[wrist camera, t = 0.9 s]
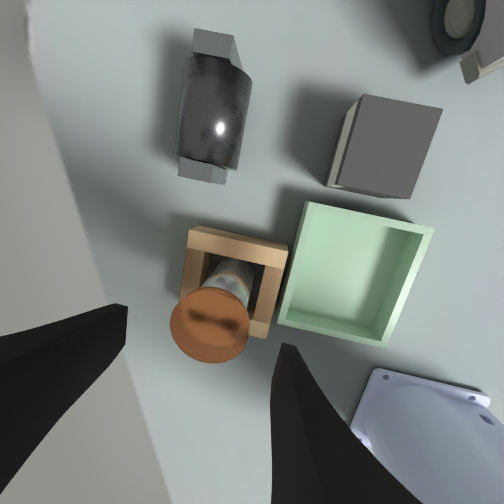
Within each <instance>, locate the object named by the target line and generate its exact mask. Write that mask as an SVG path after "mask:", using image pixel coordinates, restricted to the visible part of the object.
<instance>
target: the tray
mask: <svg viewBox="0 0 504 504" xmlns="http://www.w3.org/2000/svg"><path fill="white" fill-rule="evenodd" d="M434 230H435V228H431V227H427V226H422V225H418V224H414V223H409V222H404V221H399V220H395V219H390V218H385V217H381V216H376V215H371V214H367V213H362V212H357V211H352V210H348V209H343V208H338V207H334V206H329V205H324V204H319V203H315V202H310V201H305V203H304V207H303V211H302V214H301V218H300V222H299V226H298V230H297V234H296V238H295V241H294V245H293V249H292V253H291V257H290V261H289V265H288V269H287V272H286V276H285V280H284V284H283V288H282V292H281V296H280V300H279V303H278V307H277V324H281V325H286V326H290V327H294V328H298V329H303V330H307V331H311V332H315V333H320V334H324V335H328V336H332V337H337V338H341V339H345V340H349V341H354V342H358V343H362V344H366V345H371V346H375V347H379V348H383V349H385V348H386V346H387V344H388V341H389V339H390V336H391V334H392V332H393V329H394V327H395V324H396V322H397V319H398V317H399V315H400V312H401V310H402V307H403V305H404V303H405V300H406V298H407V295H408V293H409V290H410V288H411V286H412V283H413V281H414V278H415V276H416V274H417V271H418V269H419V266H420V264H421V261H422V259H423V257H424V254H425V252H426V249H427V247H428V245H429V242H430V240H431V237H432V235H433V232H434Z"/></svg>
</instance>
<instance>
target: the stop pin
mask: <svg viewBox="0 0 504 504" xmlns="http://www.w3.org/2000/svg"><path fill="white" fill-rule="evenodd" d="M253 281H254V273H253V270H252V268H251V266H250V265H249V264H248V263H247V262H246V261H245V260H240V259H236V258H227V259H225V260H223V261H222V262H220V263H219V265H218V266H217V267H216V269H215V270H214V271H213V272H212V274H211V275H210V276H209V278H208V279H207V280H206V281H205V283H204V284H203V285H202V287H200V288H197V289H194V290H192V291H190V292H189V293H188V294H186V295H185V296H184V297H183V298H182V299H181V301H180V302H179V303H178V304H177V305H176V307H175V308H174V310H173V312H172V315H171V319H170V329H171V333H172V336H173V339H174V341H175V342H176V344H177V345H178V347H179V348H180V349H181V350H182V351H183V352H184V353H185V354H187V355H188V356H190V357H191V358H193V359H195V360H198V361H201V362H205V363H222V362H226V361H228V360H231V359H233V358H234V357H236V356H237V355H238V354H239V353H240V352H241V351H242V350H243V348H244V347H245V345H246V343H247V340H248V335H249V329H250V318H249V314H248V311H247V306H248V302H249V298H250V293H251V289H252V285H253Z"/></svg>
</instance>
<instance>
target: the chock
mask: <svg viewBox="0 0 504 504" xmlns="http://www.w3.org/2000/svg"><path fill="white" fill-rule="evenodd" d="M442 111H443V109H441V108H435V107H430V106H425V105H420V104H414V103H409V102H404V101H399V100H393V99H388V98H383V97H378V96H373V95H367V94H363V95H362V96H361V98H360V99H359V100H357V101H356V103H355V104H354V105H353V106H352V107H351V108H350V109H349V111H348V112H347V113H346V114H345V116H344V117H343V119H342V122H341V126H340V130H339V133H338V137H337V141H336V144H335V148H334V151H333V155H332V159H331V162H330V166H329V170H328V173H327V177H326V181H325V184H324V186H326V187H330V188H335V189H340V190H345V191H350V192H354V193H359V194H364V195H369V196H373V197H378V198H395V199H410V198H411V195H412V192H413V190H414V187H415V184H416V182H417V179H418V176H419V173H420V171H421V168H422V165H423V163H424V160H425V157H426V155H427V152H428V149H429V146H430V144H431V141H432V138H433V136H434V133H435V130H436V128H437V125H438V122H439V120H440V117H441V114H442Z"/></svg>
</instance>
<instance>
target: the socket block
mask: <svg viewBox="0 0 504 504" xmlns="http://www.w3.org/2000/svg"><path fill="white" fill-rule="evenodd" d="M211 253H214V254H218V255H222V256H227V257H231V258H236V259H240V260H245V261H249V262H254V263H258V264H262V265H265V266H264V271H263V275H262V279H261V284H260V288H259V292H258V297H257V301H256V306H251V305H248V306H247V311H248V314H249V318H250V329H249V335H251V336H255V337H259V338H263V339H266V338H267V334H268V330H269V326H270V322H271V318H272V314H273V310H274V306H275V303H276V299H277V295H278V291H279V287H280V283H281V279H282V275H283V271H284V267H285V263H286V259H287V255H288V247H287V245H286V244H282V243H277V242H273V241H268V240H264V239H259V238H254V237H250V236H245V235H241V234H236V233H232V232H227V231H223V230H218V229H214V228H209V227H205V226H200V225H198V226H196V227H194V228H191V229H189V234H188V241H187V248H186V256H185V263H184V270H183V278H182V285H181V293H180V300H179V302H180V301H181V299H182V298H183V297H184V296H185V295H186V294H188V293H189V292H190V291H192V290H194V289H197V288H200V287H202V285H203V284H204V283H205V281H206V280H207V275H208V269H209V263H210V257H211Z"/></svg>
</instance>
